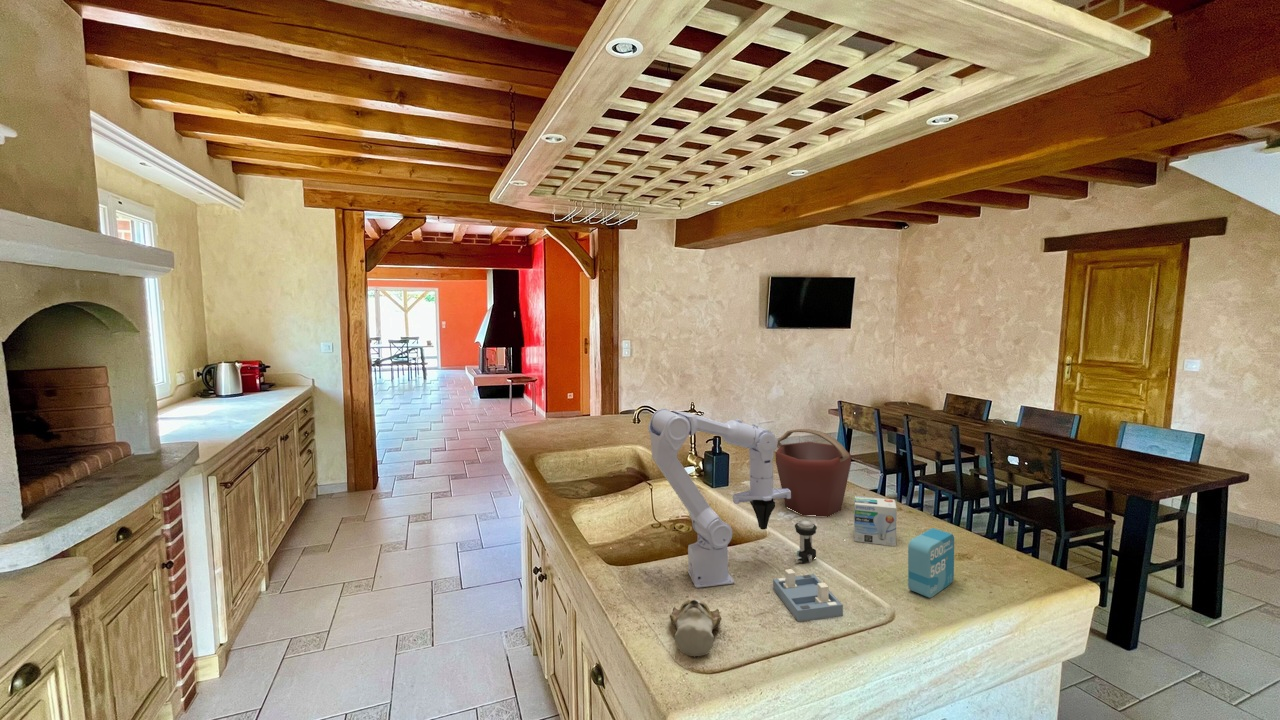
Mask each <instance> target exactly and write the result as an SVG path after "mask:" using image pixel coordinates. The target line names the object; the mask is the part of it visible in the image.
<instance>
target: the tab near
mask: <svg viewBox="0 0 1280 720" xmlns="http://www.w3.org/2000/svg"><path fill="white" fill-rule="evenodd" d="M828 590H829V586H828V584H827V583H825V582H822V583H817V597H815V603H816V604H819V603H827V602H831V600H830V599H829V594H828Z"/></svg>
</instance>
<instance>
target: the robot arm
mask: <svg viewBox="0 0 1280 720" xmlns="http://www.w3.org/2000/svg"><path fill="white" fill-rule="evenodd" d="M648 424H649V425H648V427H647V429H648V433H649V435H650V448H651V449H650V450H651V458H652V460H653V462H654V463H655V464H656V466H657V468H658V469H659V470H660V471H661V474H662V475H663V476H664V478H665V479H666V480H667V482H668V484H669V485H670V486H671V488H672V490H674V492H675V494H676V495H677V497H678V499H679V500H680V501H681V503H682V505H683V506H684V507H685V508H686V510H687V512H688V516H689V518H690V519H691V524H692V529H693V531H694V532H695V533H697V541H696V542H694V543H691V544H688V547H687V558H688V559H687V560H688V561H687V562H688V571H687V572H688V575H689V577H690V579H691V581H692V583H693V585H694V587H695V588H696V589H699V588H705V587H706V588H707V587H715V586H722V585H731V584H734V583H735V580H734V578H733V577H732V576H731V574H730V573H729V556H728V555H729V553H728V551H729V550H728V547H729V544H730V542H731V541H732V538H733V529H732V527H731V525H730V524H729V523H727V522H726V521H723V520H722V519H721V518H720V516H719V514H717V513H716V512H715V510H713V508H712V507H711V506H710V505H709V503H708V502H707V500H706V498H705V497H704V496H703V494H702V493H701V491H700V490H699V488H698V486H697V485H696V484H695V482H694V481H693V478H691V476H690V474H689V472H688V471H687V470H686V468H685V466H683V464H682V463H681V461H680V460H679V458H678V453H679V452H680V450H681V448H682V446H683V445H684V443H685V441H687V438H688V437H689V436H691V437H692V436H694V435H695V434H696V433H697V432H703V433H706V434H710V435H711V434H712V435H716V436H719V437H721V438H722V440H723V442H725V443H726V444H730V445H732V446H733V445H734V446H736V447H740V448H741V447H742V448H746V449H748V454H749V455H748V459H749V460H748V461H749V490H746V491H742V492H741V491H740V492H737V493H733V494H732V501H733V503H734V504H735V505H738V504H741V503H747V502H749V503H750V505H751V507H752V509H753V511H754V514H755V517H756V519H757V524H758V528H759V529H760V530H767V529H768V523H769V520H770V518H771V515H772V512H773V511H774V509H775V508H776V501H774V500H777V499H778V500H779V499H784V498H787V499H790V498H791V491H790V490H789V489H782V488H774V457H775V456H774V455H775V452H776V449H777V448H778V447H777V444H778V439H776V438H777V437H776V435H775V434H774V433H773V431H771V430H769V429H765V428H762V427H759V425H758V424H755V423H752V424H748V423H745V422H743V420H742V419H740V418H735V419H730V420H728V421H726V422H720V421H719V420H718V421H717V420H715V419H710V418H709V417H704V416H701V415H698V414H695V413H692V412H688V411H687V412H685V411H683V410H681V411H680V410H672V411H671V410H669V409H667V408H660V409H657V410H655V412H653V414H652V415H651V418H650V421H649V423H648Z"/></svg>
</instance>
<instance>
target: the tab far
mask: <svg viewBox="0 0 1280 720" xmlns="http://www.w3.org/2000/svg"><path fill="white" fill-rule="evenodd" d="M795 576H796V572H795V571H794V570H793V569H792V568H788V569H784V578H785V583H783V589H787V588H795V587H798V586H797V585H796V584H795Z"/></svg>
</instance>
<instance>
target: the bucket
mask: <svg viewBox="0 0 1280 720" xmlns="http://www.w3.org/2000/svg"><path fill="white" fill-rule="evenodd" d="M793 433H808V434H812V435H814V436H818V437H820V438H822V439H823V440H825V441H827V442H828V443H829V444H828V443H821V442H813V441H804V442H803V441H802V442H796V443H786V444H785V443H784V444H782V443H781V442H782V441H785V440H786V439H788V438H789V437H790V436H792V434H793ZM777 440H778V444H777V447H776V448H778V449H777V450H775V464H776V469H777V473H778V476H779V483H780V487H781V489H789V490H790V491H791V498H790V499H787V498H783V500H784V504H785V508H786V507H788V508H790V509H792V510H794V511H796V512H798V513H800V514H802V515H816V516H827V517H826V518H829V517H831V516H833V515H835V514H837V513H839V512H841V511H842V509H843V508H842V507H843V502H844V498H845V495H846V489H847V485H848V479H849V475H850V469H851V466H852V454H851V453H850V452H849V451H848V450H846V448H845V447H844V445H843V444H842V443H841V442H839V441H838V440H837V439H835V437H832V436H831V435H828V434H827V433H826V432H822V431H819V430H814V429H809V428H807V429H806V428H797V429H792V430H791V429H790V430H786V432H785V433H784V434H783V435H781V436H780V437H779V438H778V439H777ZM834 513H835V514H834ZM832 514H833V515H832ZM802 515H801V516H802ZM830 515H831V516H830ZM828 516H829V517H828Z"/></svg>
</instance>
